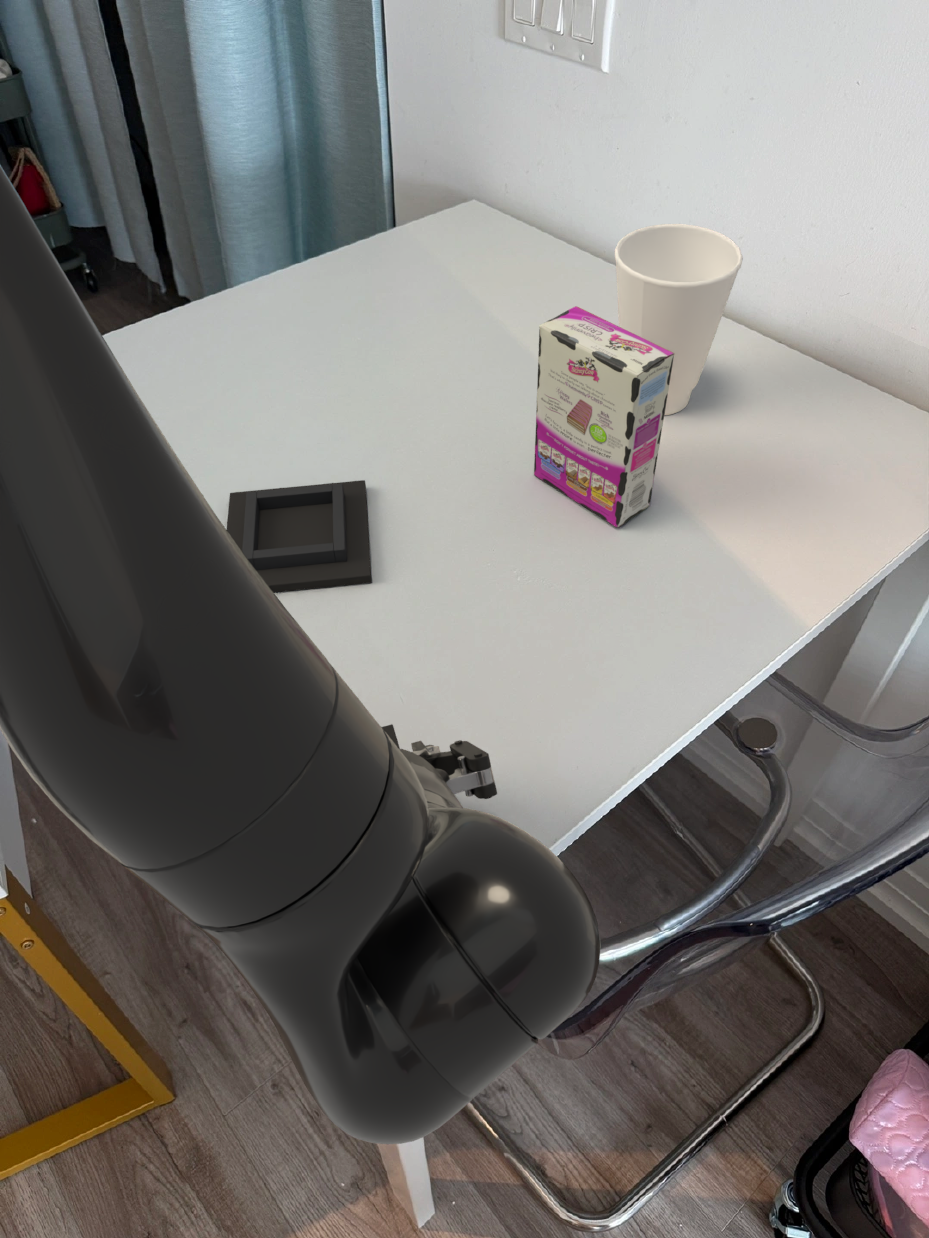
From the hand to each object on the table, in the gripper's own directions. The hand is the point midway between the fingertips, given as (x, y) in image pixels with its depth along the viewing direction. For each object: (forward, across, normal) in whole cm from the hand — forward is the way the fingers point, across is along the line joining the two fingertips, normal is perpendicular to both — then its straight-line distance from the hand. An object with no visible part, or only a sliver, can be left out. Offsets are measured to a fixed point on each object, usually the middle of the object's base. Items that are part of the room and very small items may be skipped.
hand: (367, 769), depth 62 cm
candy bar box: (+22, -27, -16) cm, 39 cm away
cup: (+31, -40, -24) cm, 56 cm away
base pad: (+24, +1, -17) cm, 29 cm away
